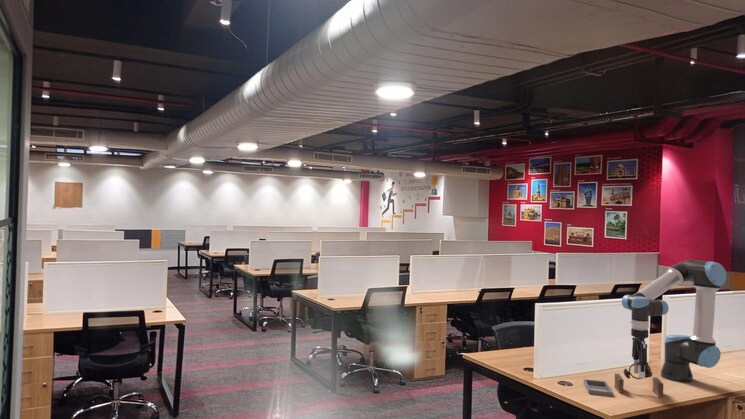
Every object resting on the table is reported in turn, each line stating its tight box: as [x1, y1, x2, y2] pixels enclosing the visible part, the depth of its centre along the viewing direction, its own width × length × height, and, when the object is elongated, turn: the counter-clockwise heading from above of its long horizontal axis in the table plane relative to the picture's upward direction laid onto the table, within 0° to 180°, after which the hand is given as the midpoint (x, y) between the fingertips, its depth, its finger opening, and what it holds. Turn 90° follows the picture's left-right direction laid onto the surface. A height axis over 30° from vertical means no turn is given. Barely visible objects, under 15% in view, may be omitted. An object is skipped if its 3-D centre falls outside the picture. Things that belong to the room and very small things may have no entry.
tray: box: [583, 378, 614, 397], centre depth 254 cm, size 11×17×2 cm, turn 165°
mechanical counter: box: [623, 362, 653, 380], centre depth 252 cm, size 7×13×10 cm, turn 83°
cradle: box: [614, 373, 664, 399], centre depth 252 cm, size 19×10×7 cm, turn 75°
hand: (639, 375), depth 252 cm, fingers closed on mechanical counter, 6 cm apart
